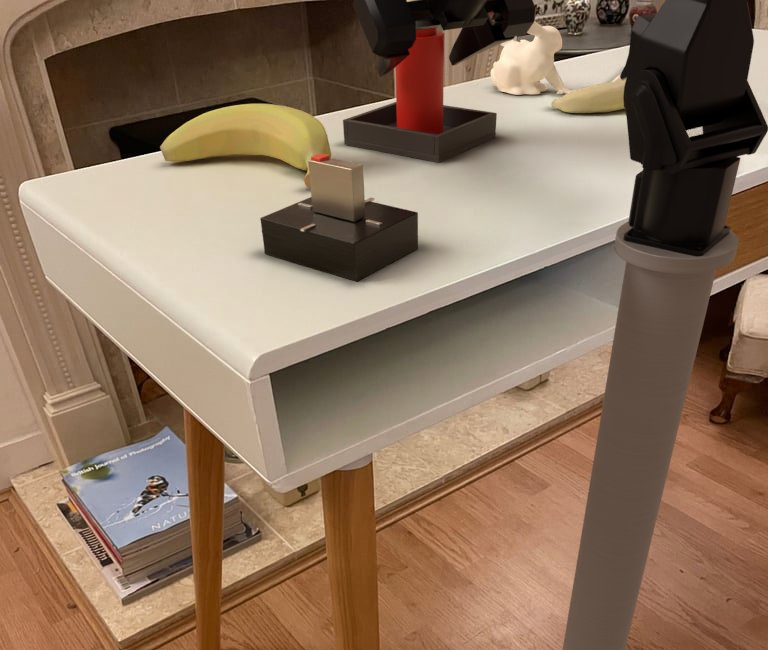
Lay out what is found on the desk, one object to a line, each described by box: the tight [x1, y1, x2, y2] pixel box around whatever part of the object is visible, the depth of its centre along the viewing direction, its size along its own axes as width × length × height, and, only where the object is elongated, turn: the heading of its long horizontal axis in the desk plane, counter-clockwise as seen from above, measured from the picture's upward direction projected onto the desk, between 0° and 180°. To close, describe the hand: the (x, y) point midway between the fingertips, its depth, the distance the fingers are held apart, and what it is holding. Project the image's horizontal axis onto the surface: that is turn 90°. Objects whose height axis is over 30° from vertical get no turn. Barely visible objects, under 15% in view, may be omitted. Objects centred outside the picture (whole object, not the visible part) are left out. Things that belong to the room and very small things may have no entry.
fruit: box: [551, 79, 626, 114], centre depth 99 cm, size 7×15×3 cm, turn 117°
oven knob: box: [308, 153, 366, 222], centre depth 63 cm, size 4×1×4 cm, turn 52°
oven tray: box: [342, 101, 498, 163], centre depth 90 cm, size 13×11×3 cm
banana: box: [159, 103, 332, 190], centre depth 83 cm, size 14×6×20 cm
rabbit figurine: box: [490, 20, 574, 96], centre depth 104 cm, size 12×8×10 cm, turn 46°
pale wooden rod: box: [610, 73, 623, 82], centre depth 110 cm, size 1×19×1 cm, turn 154°
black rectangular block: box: [259, 196, 419, 282], centre depth 65 cm, size 10×9×3 cm
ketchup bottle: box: [395, 0, 445, 135], centre depth 86 cm, size 5×5×14 cm
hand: (416, 67), depth 87 cm, fingers open, 9 cm apart
